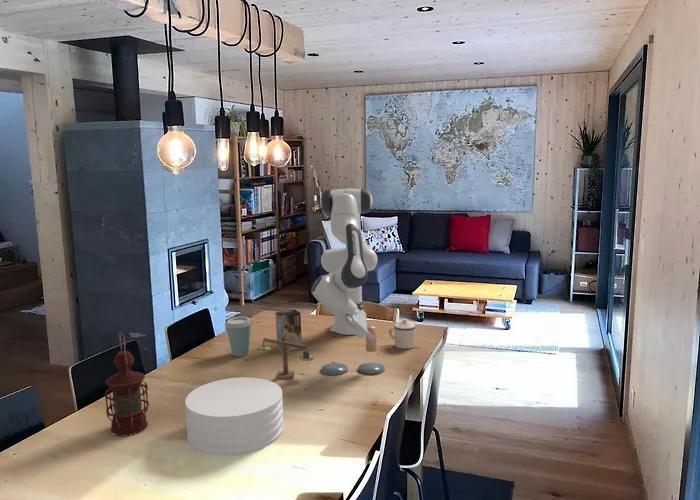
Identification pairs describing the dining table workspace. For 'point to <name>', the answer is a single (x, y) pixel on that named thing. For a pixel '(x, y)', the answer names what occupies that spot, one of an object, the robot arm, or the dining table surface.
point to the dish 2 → (371, 368)
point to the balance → (286, 356)
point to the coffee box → (288, 328)
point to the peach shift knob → (371, 343)
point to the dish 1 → (334, 369)
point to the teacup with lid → (404, 334)
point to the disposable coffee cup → (239, 335)
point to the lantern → (126, 396)
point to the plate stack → (234, 416)
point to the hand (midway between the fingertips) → (372, 336)
